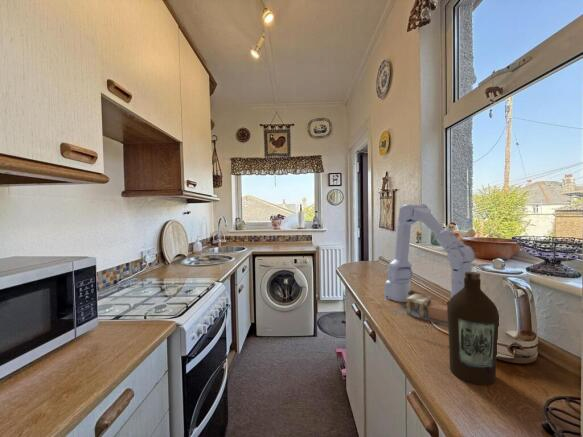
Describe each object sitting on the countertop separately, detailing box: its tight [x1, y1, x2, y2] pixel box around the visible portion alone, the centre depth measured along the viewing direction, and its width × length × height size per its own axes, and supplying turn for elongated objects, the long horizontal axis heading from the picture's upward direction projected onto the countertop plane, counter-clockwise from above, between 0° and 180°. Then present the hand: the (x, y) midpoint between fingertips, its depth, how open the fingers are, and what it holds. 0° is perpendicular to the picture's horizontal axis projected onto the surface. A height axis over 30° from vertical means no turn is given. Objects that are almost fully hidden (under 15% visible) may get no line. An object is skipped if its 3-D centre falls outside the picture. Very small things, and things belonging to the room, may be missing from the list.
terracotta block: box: [428, 303, 448, 322], centre depth 98 cm, size 11×4×4 cm, turn 44°
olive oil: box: [446, 271, 500, 386], centre depth 68 cm, size 11×11×25 cm
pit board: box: [393, 304, 448, 326], centre depth 103 cm, size 21×10×1 cm, turn 44°
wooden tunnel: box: [405, 292, 432, 319], centre depth 105 cm, size 6×8×6 cm
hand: (460, 320), depth 95 cm, fingers open, 7 cm apart
